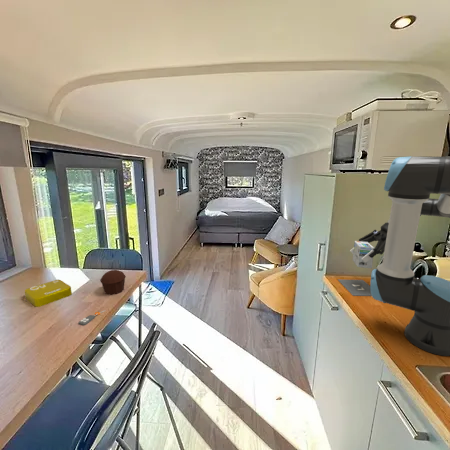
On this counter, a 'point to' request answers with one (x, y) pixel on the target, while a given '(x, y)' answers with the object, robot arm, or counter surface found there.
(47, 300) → the element tile
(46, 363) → the counter surface
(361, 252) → the light bulb box
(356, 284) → the mat
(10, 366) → the counter surface
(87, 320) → the key chain
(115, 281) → the muffin
